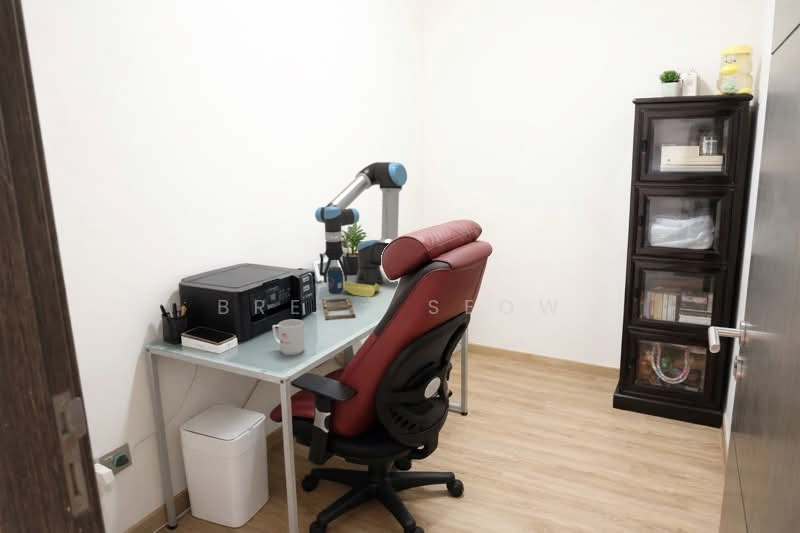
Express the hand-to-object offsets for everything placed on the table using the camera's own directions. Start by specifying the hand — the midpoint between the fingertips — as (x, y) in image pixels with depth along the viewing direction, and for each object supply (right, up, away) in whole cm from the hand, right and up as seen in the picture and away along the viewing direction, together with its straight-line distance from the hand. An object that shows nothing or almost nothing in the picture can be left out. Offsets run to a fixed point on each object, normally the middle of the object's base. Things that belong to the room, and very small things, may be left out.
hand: (335, 288), depth 259 cm
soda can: (0, -2, +1) cm, 2 cm away
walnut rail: (+2, -9, -5) cm, 11 cm away
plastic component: (+10, -3, +22) cm, 25 cm away
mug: (-11, -21, -55) cm, 60 cm away
